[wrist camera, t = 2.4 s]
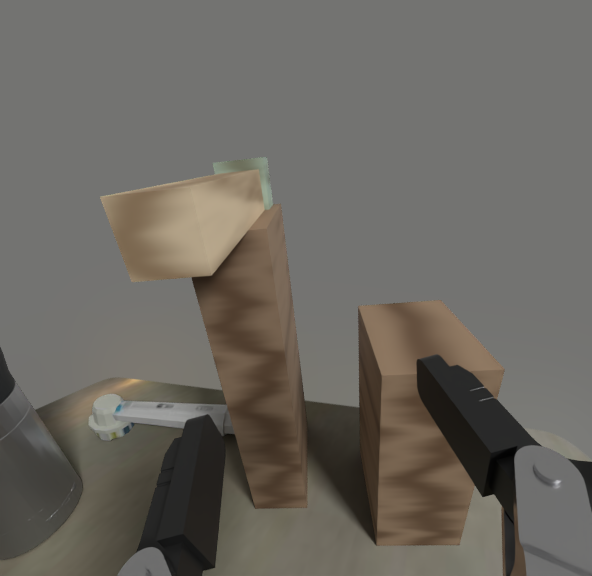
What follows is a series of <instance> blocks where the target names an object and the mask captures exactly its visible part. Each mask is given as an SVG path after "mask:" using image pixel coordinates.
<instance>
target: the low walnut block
mask: <svg viewBox="0 0 592 576" xmlns="http://www.w3.org/2000/svg"><path fill="white" fill-rule="evenodd" d="M358 315H359V316H358V319H359V321H358V322H359V401H360V402H359V406H360V454H361V460H362V466H363V471H364V477H365V483H366V488H367V494H368V500H369V505H370V511H371V516H372V522H373V528H374V533H375V539H376V545H377V546H380V545H459V544H460V540H461V536H462V532H463V529H464V525H465V521H466V517H467V513H468V509H469V505H470V502H471V498H472V494H473V490H474V486H475V484H474V483H473V481H472V480H471V478H470V476H469V475H468V473H467V472H466V470H465V469H464V467H463V465H462V464H461V462H460V461H459V459H458V458H457V456H456V454H455V453H454V451H453V450H452V448H451V447H450V445H449V443H448V442H447V440H446V439H445V437H444V436H443V434H442V432H441V431H440V429H439V428H438V426H437V425H436V423H435V421H434V420H433V418H432V417H431V415H430V414H429V412H428V410H427V409H426V407H425V406H424V404H423V402H422V400H421V398H420V396H419V393H418V389H417V365H416V362H417V359H420V358H424V357H428V356H432V355H435V354H438V355H440V356H441V357H442V358H443V359H444V360H445V362H446V363H447V364H448V365H449V366H454V365H459V366H461V367H463V368H464V369H466V370H468V371H469V372H471V373H473V374H474V375H475V377H476V378H477V379H478V380H479V381H480V382H481V383H482V384H483V385H484V387H485V388H487V389H488V391H489V392H490V393H491V394H492V395H493V397H494V398H495V399H497V397H498V394H499V389H500V386H501V382H502V378H503V374H504V368H503V367H502V366H501V365H500V364H499V363H498V362H497V361H496V359H495V358H494V357H493V356H492V355H491V354H490V353H489V352H488V351H487V350H486V349H485V347H484V346H483V345H482V344H481V343H480V342H479V341H478V340H477V339H476V338H475V337H474V336H473V335H472V334H471V333H470V332H469V330H468V329H467V328H466V327H465V326H464V325H463V324H462V323H461V322H460V321H459V319H458V318H457V317H456V316H455V315H454V314H453V313H452V312H451V311H450V310H449V309H448V308H447V307H446V305H445V304H444V303H443V302H442V301H441V300H436V301H421V302H407V303H393V304H379V305H365V306H358Z"/></svg>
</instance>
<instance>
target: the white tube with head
mask: <svg viewBox="0 0 592 576" xmlns="http://www.w3.org/2000/svg"><path fill="white" fill-rule="evenodd" d="M92 412H93V414H92V415H91V416H90V417H89V427H90V429H92V430H93V431H94V432H95V433H96V436H99V437H100V438H101V440H106V441H111V440H112V439H114V438H118V437H122V436H124V435H125V434H126V433H128V432H129V431H130V430H131V428H132V427H133V426H134V423H141V424H150V425H159V426H167V427H176V428H184V426H185V423H186V421H187V420H188V419H191V418H195V417H199V416H203V415H206V414H208V415H210V417H211V418H212V420H213V422H214V423H215V425H216V427H217V429H218V430H219V432H220V433H221V436H224V435H226V434H227V433H228V434H235V433H234V429H233V426H232V422H231V419H230V415H229V411H228V408H227V404H226V405H218V404H193V403H169V402H144V401H124V400H123V399H122V398H121V397H120V396H118V395H117V394H107V395H103V396H101V397H99V398H98V399H97V400H96V401H95V402H94V404H93V408H92Z"/></svg>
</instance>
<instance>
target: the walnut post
mask: <svg viewBox="0 0 592 576" xmlns="http://www.w3.org/2000/svg"><path fill="white" fill-rule="evenodd" d="M192 281H193V285H194V288H195V292H196V296H197V299H198V303H199V306H200V310H201V314H202V317H203V321H204V324H205V328H206V331H207V335H208V339H209V342H210V346H211V350H212V353H213V357H214V361H215V364H216V368H217V371H218V375H219V379H220V382H221V386H222V390H223V393H224V397H225V400H226V404H227V408H228V411H229V415H230V419H231V422H232V426H233V429H234V433H235V437H236V440H237V444H238V447H239V451H240V455H241V458H242V462H243V466H244V469H245V473H246V476H247V480H248V484H249V487H250V491H251V495H252V498H253V502H254V505H255V509H258V508H307V417H306V409H305V401H304V392H303V385H302V376H301V368H300V360H299V351H298V343H297V334H296V326H295V318H294V309H293V301H292V293H291V284H290V276H289V268H288V259H287V251H286V244H285V235H284V227H283V218H282V210H281V204H273V205H272V207H271V208H270V209H269V210H264V211H263V213H262V214H261V215H260V216H259V218H258V219H257V220H256V221H255V223H254V224H253V225H252V226H251V228H250V229H249V230H248V231H247V232H246V234H245V235H244V236H243V237H242V239H241V240H240V241H239V242H238V244H237V245H236V246H235V247H234V249H233V250H232V251H231V252H230V254H229V255H228V256H227V257H226V258H225V260H224V261H223V262H222V263H221V265H220V266H219V267H218V268H217V270H216V271H215V272H214V273H213V275H212V276H200V277H192Z"/></svg>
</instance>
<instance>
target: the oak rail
mask: <svg viewBox="0 0 592 576" xmlns="http://www.w3.org/2000/svg"><path fill="white" fill-rule="evenodd" d="M213 166H214V172H215V175H210V176H205V177H200V178H195V179H189V180H185V181H179V182H175V183H169V184H164V185H159V186H153V187H148V188H143V189H138V190H133V191H128V192H123V193H117V194H112V195H107V196H102V197H100V198H101V201H102V203H103V206H104V209H105V211H106V214H107V217H108V220H109V222H110V225H111V228H112V230H113V233H114V235H115V238H116V241H117V243H118V246H119V249H120V252H121V254H122V257H123V260H124V262H125V265H126V268H127V270H128V273H129V275H130V278H131V281H132V282H139V281H150V280H162V279H176V278H188V277H200V276H212V275H213V273H214V272H215V271H216V270H217V268H218V267H219V266H220V265H221V263H222V262H223V261H224V260H225V258H226V257H227V256H228V255H229V254H230V252H231V251H232V250H233V249H234V247H235V246H236V245H237V244H238V242H239V241H240V240H241V239H242V237H243V236H244V235H245V234H246V232H247V231H248V230H249V229H250V228H251V226H252V225H253V224H254V223H255V221H256V220H257V219H258V218H259V216H260V215H261V214H262V213H263V211H264V210H269V209H270V208H271V207H272V205H273V201H272V193H271V185H270V178H269V170H268V162H267V157H264V158H263V157H262V158H254V159H244V160H237V161H227V162H219V163H213Z"/></svg>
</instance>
